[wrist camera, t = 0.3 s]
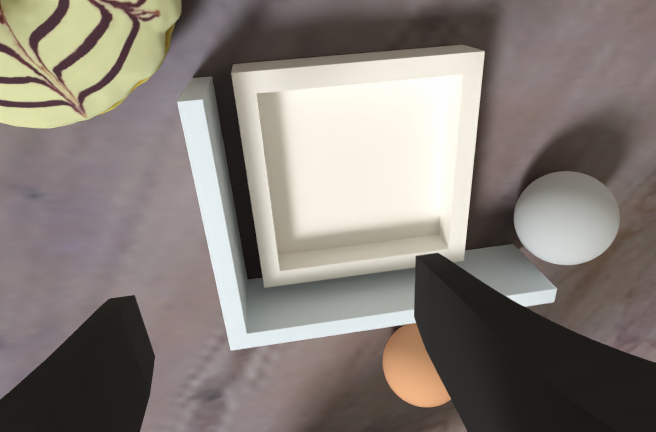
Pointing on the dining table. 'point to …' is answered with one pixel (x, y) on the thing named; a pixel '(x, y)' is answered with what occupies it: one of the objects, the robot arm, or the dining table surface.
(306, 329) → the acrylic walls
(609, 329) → the dining table surface
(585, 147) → the dining table surface
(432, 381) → the terracotta ball
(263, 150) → the ceramic dish
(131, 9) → the decorated donut
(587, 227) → the grey ball
